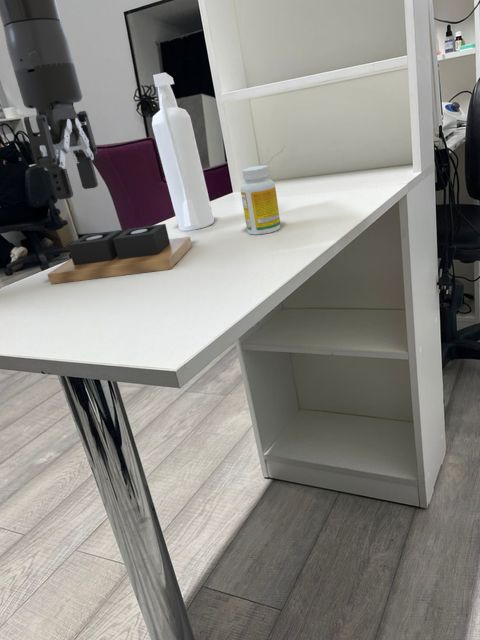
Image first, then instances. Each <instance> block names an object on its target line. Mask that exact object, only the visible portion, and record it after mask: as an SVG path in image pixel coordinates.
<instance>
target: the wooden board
mask: <svg viewBox="0 0 480 640" xmlns="http://www.w3.org/2000/svg"><path fill="white" fill-rule="evenodd" d="M141 233H148V230H147V229H141V230H136V231H133V232H131V235H134V234H141ZM98 239H103V236H101V235H98V236H93V237H89V238H87V239H86V241H91V240H98ZM169 241H170V244H169V245H168V246H167V247H166V248H164V249H163V250H162V251H161V252H160V253H159V254H158V255H150V256H143V257H135V258H127V259H119V258H118V256H117V257H116V258H115V259H113V260H112V261H104V262H96V263H89V264H81V265H74V264H73V261H72V258H70V259H68V260H67V261H65V262H64V263H63V264H61V265H60V266H58V267H56V268H55V269H53V270H52V271H50V272H48V273H47V277H48V280H49V284H50V285H54V284H55V285H56V284H63V283H70V282H80V281H86V280H94V279H95V280H96V279H103V278H113V277H119V276H127V275H137V274H145V273H150V272H160V271H166V270H167V271H169V270H172V269H173V268H174V267H175V265H176V264H177V263H178V262H179V261H180V260H181V259H182V258H183V257H184V255H185V254H186V253H187V252H188V251H189V250H190V249H191V248H192V247H193V243H192V240H191V236H185V237H176V238H169Z"/></svg>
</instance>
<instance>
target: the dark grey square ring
mask: <svg viewBox="0 0 480 640" xmlns="http://www.w3.org/2000/svg"><path fill="white" fill-rule="evenodd" d="M121 233H123V230H122V229H118V230H117V229H116V230H110V231H103V232H96V233H89V234H84V235H83V236H81V237H80V238H78V239H75V240H74V241H73V242H71V243H69V244H67V248H68V251H69V254H70V257H71V258H70V259H72V261H73V264H74V265H81V264H89V263H96V262H104V261H112V260H113V259H115V258H116V257H117V256H118V255H117V251H116V248H115V244H114V240H113V239H114V238H115V237H117V236H118V235H120V234H121ZM98 235H101V236H103V239H98V240H91V241H86V239H87V238H89V237H93V236H98Z"/></svg>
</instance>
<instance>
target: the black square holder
mask: <svg viewBox="0 0 480 640" xmlns="http://www.w3.org/2000/svg"><path fill="white" fill-rule="evenodd" d="M141 229H147V230H148V233H141V234H134V235H131V232H133V231H136V230H141ZM169 237H170V236H169V234H168V228H167V225H166V223H160V224H153V225H146V226H140V227H131V228H127V229H126V230H124V231H122V233H121V234H120V235H118V236H117V237H115V238H114V239H113V240H114V244H115V248H116V251H117V255H118V258H119V259H127V258H135V257H143V256H150V255H158V254H159V253H160V252H161V251H162V250H163V249H164V248H166V247H167V246H168V245H169V244H170V241H169V239H170V238H169Z"/></svg>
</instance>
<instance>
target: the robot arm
mask: <svg viewBox="0 0 480 640" xmlns="http://www.w3.org/2000/svg"><path fill="white" fill-rule="evenodd" d="M60 15H61V14H60V11H59V8H58V3H57V0H0V21H1V24H2V28H3V32H4V37H5V43H6V49H7V52H8V56H9V59H10V63H11V66H12V69H13V73H14V76H15V80H16V82H17V86H18V89H19V93H20V96H21V99H22V103H23V106H24V107H25V108H27V109H35V112H36V114H34V115H30V116H25V117H24V118H23V123H24V127H25V130H26V131H25V132H26V135H27V139H28V142H29V146H30V149H31V153H32V157H33V161H34V165H35V166H36V168H43V169H44V171H48V174H49V178H50V182H51V185H52V188H53V191H54V195H55V198H56V199H57V200H67V199H70V198H73V197H74V191H73V188H72V183H71V180H70V176H69V173H68V169H67V168H65V167H66V155H67V154H68V153H70V154H71V156H72V158H73V160H75V162H76V163H75V165H76V169H77V172H78V176H79V180H80V183H81V186H82V187H81V188H83V189H84V190H90V189H95V188H97V187H98V186H99V182H98V178H97V175H96V171H95V167H94V163H93V161H94V159H95V158H94V155H97V154H98V148H97V145H96V141H95V138H94V134H93V129H92V126H91V123H90V119H89V115H88V112H87V111H86V110H82V111H81V110H79V111H76V109H75V107H74V104H75V103H79V102H81V101H82V99H83V93H82V90H81V86H80V82H79V78H78V75H77V71H76V67H75V63H74V57H73V54H72V49H71V46H70V43H69V40H68V37H67V35H66V32H65V29H64V26H63V23H62V20H61V16H60ZM41 152H42V153H43V155H42V153H41Z"/></svg>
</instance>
